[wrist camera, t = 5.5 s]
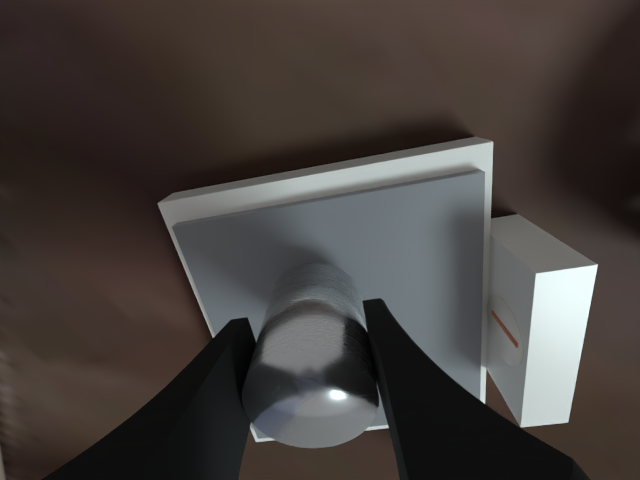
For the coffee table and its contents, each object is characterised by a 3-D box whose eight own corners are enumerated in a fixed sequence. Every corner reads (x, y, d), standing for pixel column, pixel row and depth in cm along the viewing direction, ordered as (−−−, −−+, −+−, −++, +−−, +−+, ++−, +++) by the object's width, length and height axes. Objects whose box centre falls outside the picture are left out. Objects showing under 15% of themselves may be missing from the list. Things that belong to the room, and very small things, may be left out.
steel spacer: (284, 346, 15) (264, 454, 10) (258, 272, 13) (222, 361, 9) (369, 332, 15) (388, 439, 10) (353, 254, 13) (366, 338, 8)
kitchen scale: (260, 418, 22) (243, 504, 17) (173, 192, 15) (108, 234, 11) (506, 391, 20) (557, 477, 16) (523, 127, 14) (620, 144, 9)
